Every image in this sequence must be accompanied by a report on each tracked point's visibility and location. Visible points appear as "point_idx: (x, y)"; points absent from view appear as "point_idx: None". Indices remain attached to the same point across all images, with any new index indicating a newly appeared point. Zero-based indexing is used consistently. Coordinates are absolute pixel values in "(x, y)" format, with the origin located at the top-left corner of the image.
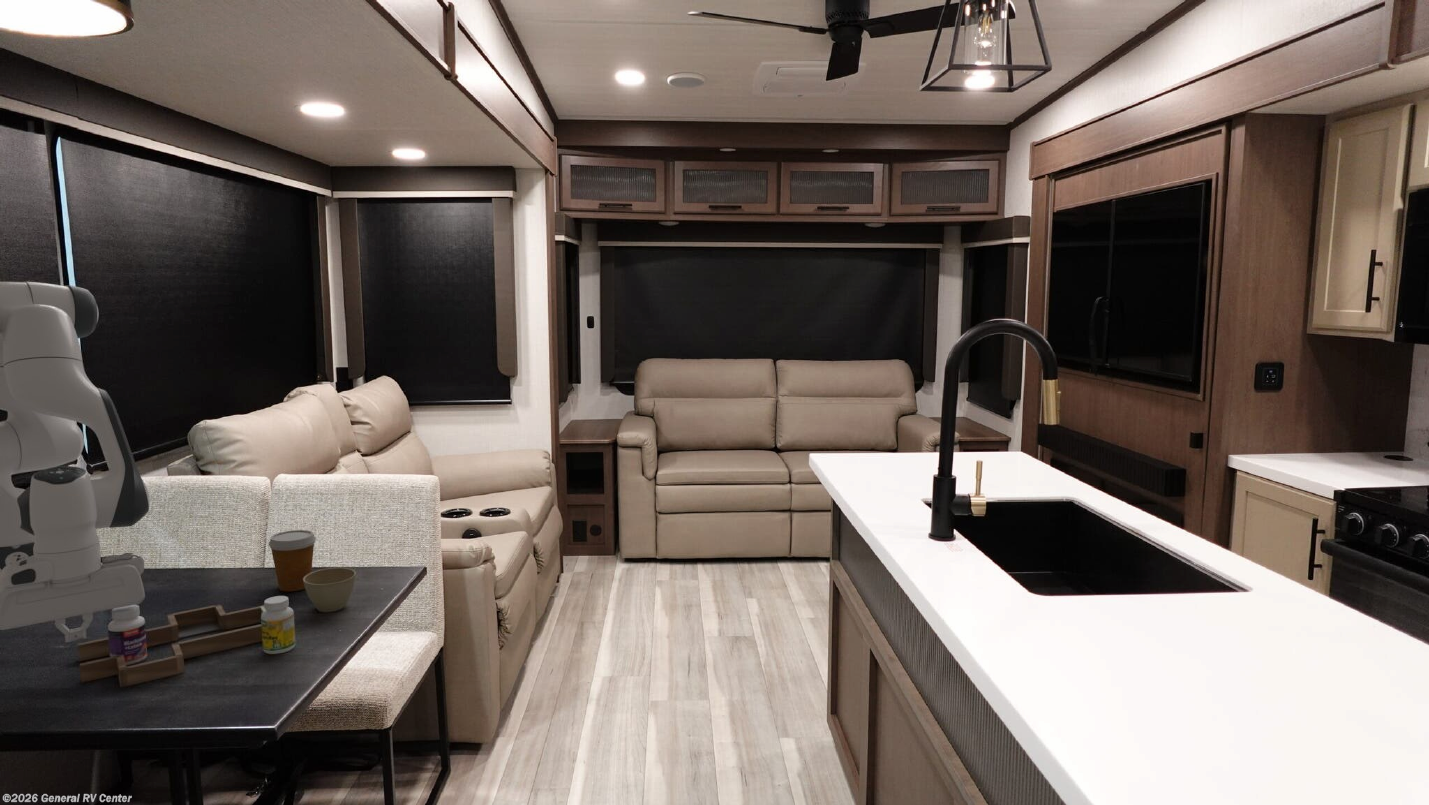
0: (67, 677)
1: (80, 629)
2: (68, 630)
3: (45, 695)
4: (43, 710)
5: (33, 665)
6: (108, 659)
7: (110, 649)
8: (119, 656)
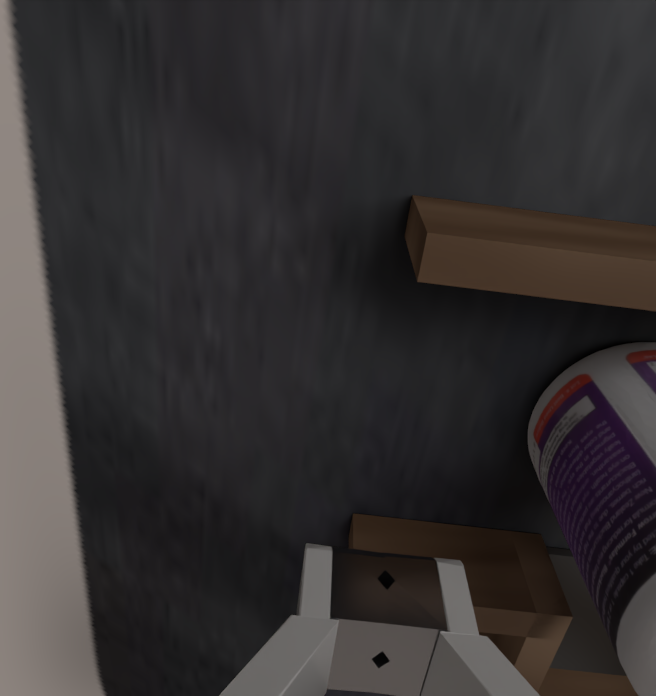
0: (307, 430)
1: (419, 680)
2: (325, 673)
3: (202, 557)
4: (192, 666)
5: (144, 61)
6: (487, 632)
7: (556, 507)
8: (545, 632)
